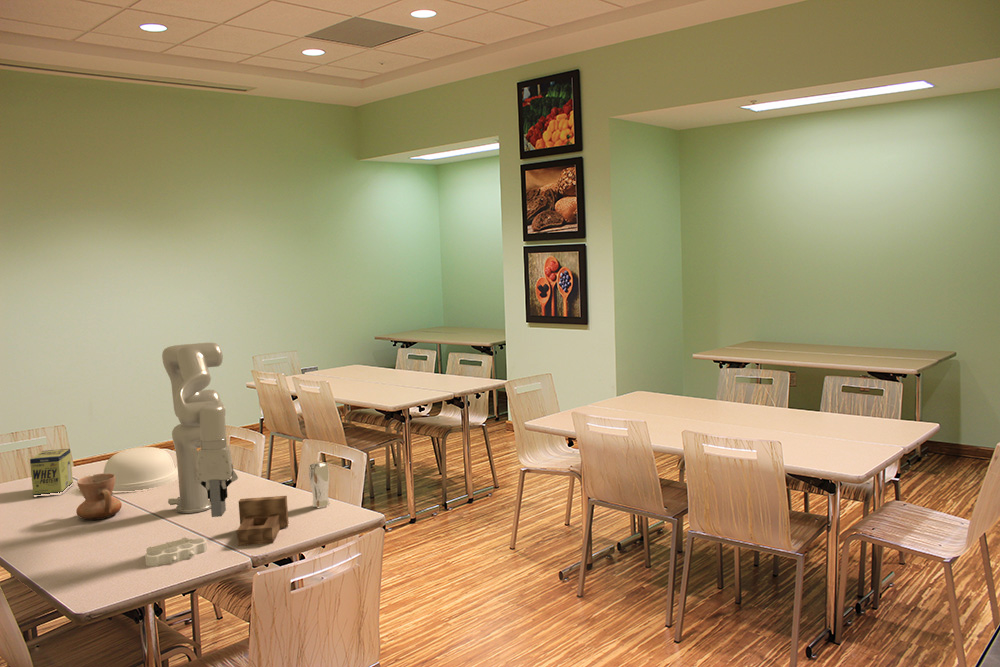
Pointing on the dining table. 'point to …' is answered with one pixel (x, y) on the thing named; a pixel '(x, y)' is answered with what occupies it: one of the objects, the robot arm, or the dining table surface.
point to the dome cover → (141, 469)
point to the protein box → (51, 471)
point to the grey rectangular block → (216, 498)
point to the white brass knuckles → (175, 551)
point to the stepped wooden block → (261, 519)
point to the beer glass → (319, 483)
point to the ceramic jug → (98, 497)
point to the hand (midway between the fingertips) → (217, 500)
